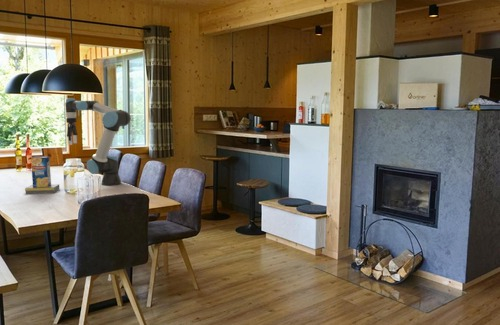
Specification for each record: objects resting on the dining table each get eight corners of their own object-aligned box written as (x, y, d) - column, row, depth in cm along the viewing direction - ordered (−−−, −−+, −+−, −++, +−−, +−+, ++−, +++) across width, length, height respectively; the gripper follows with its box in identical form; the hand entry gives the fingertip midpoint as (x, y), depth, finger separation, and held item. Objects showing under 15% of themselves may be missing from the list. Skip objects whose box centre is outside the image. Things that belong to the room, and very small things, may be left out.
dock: (59, 189, 341) (59, 184, 341) (53, 193, 328) (53, 187, 327) (32, 190, 339) (31, 184, 338) (25, 193, 326) (24, 188, 325)
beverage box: (48, 186, 330) (46, 157, 327) (32, 187, 329) (30, 157, 326) (51, 185, 337) (49, 156, 334) (36, 185, 336) (34, 156, 333)
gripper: (70, 117, 370) (72, 142, 373) (61, 118, 346) (63, 145, 349) (80, 117, 371) (81, 142, 374) (71, 118, 347) (73, 145, 349)
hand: (72, 143), depth 361 cm, fingers open, 13 cm apart
